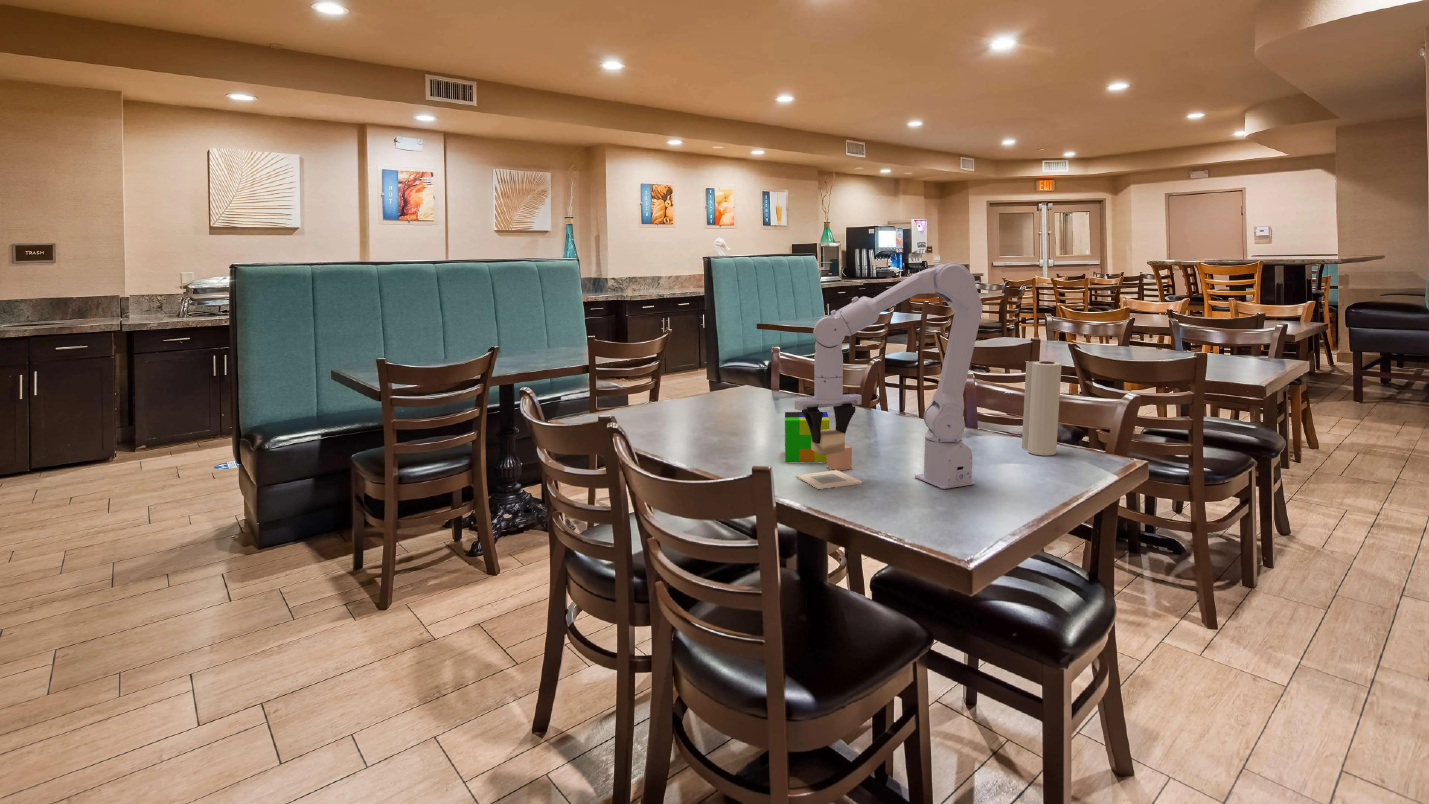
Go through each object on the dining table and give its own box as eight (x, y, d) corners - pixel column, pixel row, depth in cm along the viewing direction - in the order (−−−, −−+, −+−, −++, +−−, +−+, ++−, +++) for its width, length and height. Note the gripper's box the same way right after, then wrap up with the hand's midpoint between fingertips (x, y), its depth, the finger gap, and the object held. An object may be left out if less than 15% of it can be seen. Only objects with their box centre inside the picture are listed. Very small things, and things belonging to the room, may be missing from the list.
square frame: (861, 483, 150) (861, 481, 150) (818, 489, 146) (818, 487, 146) (836, 471, 159) (836, 469, 159) (795, 477, 156) (795, 475, 155)
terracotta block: (851, 469, 161) (851, 447, 160) (835, 471, 159) (835, 449, 159) (842, 465, 165) (842, 443, 164) (826, 467, 163) (826, 445, 162)
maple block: (844, 452, 150) (844, 433, 150) (823, 455, 149) (823, 435, 148) (832, 447, 155) (832, 428, 154) (811, 449, 153) (811, 431, 152)
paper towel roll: (1060, 456, 168) (1066, 363, 164) (1034, 456, 168) (1039, 364, 164) (1047, 448, 175) (1052, 359, 171) (1021, 449, 175) (1026, 360, 171)
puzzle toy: (826, 452, 176) (827, 411, 175) (829, 463, 167) (829, 420, 165) (785, 452, 177) (784, 411, 176) (785, 463, 168) (784, 420, 166)
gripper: (849, 371, 155) (848, 433, 157) (787, 376, 150) (788, 440, 152) (867, 375, 148) (866, 440, 151) (803, 380, 143) (803, 448, 146)
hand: (828, 441), depth 151 cm, fingers closed on maple block, 5 cm apart
